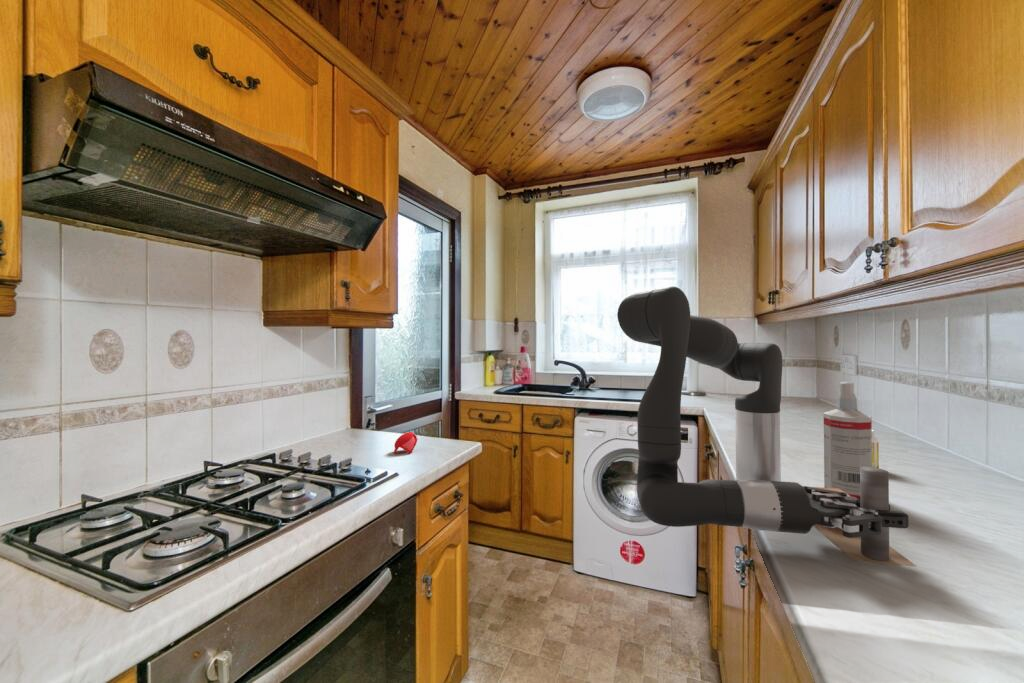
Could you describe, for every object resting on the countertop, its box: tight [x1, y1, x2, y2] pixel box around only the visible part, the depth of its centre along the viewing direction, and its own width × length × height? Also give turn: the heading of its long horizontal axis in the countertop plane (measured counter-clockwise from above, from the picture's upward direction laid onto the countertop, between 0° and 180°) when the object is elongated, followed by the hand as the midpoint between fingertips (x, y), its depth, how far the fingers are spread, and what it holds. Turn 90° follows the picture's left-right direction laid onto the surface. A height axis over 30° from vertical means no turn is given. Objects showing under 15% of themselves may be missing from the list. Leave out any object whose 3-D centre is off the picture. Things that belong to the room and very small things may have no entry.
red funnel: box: [393, 431, 418, 454], centre depth 127 cm, size 8×6×6 cm
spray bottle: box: [823, 381, 873, 500], centre depth 84 cm, size 8×8×25 cm
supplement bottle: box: [872, 429, 880, 469], centre depth 104 cm, size 6×6×10 cm
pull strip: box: [813, 467, 917, 567], centre depth 69 cm, size 22×8×14 cm, turn 167°
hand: (896, 514), depth 60 cm, fingers closed on pull strip, 3 cm apart
